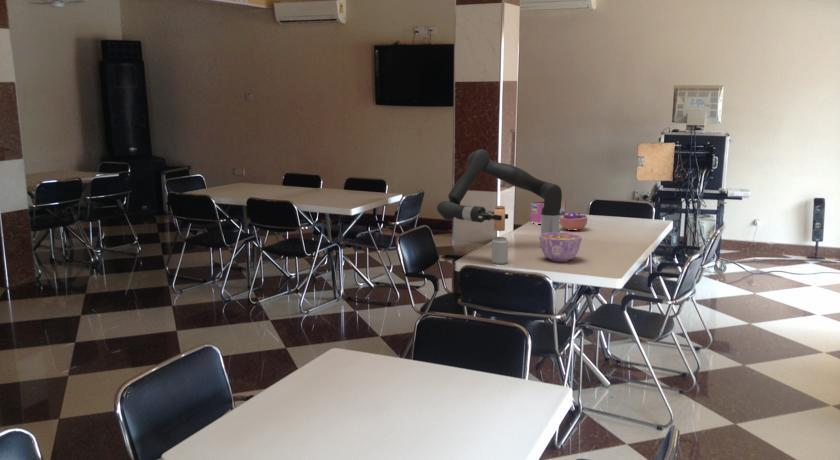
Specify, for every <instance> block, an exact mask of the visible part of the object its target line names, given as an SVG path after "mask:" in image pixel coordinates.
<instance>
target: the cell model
mask: <svg viewBox="0 0 840 460" xmlns="http://www.w3.org/2000/svg"><path fill="white" fill-rule="evenodd" d="M559 219H560V221H559V226H560V227H562V228H563V229H564V228H565V230H567V229H569V230H574V229H580V230H582V229H583V228H585V227H586V226H587V224H588V216H587V215H586V214H581V213H580V212H578V213H575V212H574V211H573V212H572V211H570V212H568V213H567V214H566V215H560V216H559ZM569 230H568V231H569Z"/></svg>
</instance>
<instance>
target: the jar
mask: <svg viewBox="0 0 840 460" xmlns="http://www.w3.org/2000/svg"><path fill="white" fill-rule="evenodd" d="M505 207H506V206H504V205H495V206H494V209H493V211H494V215H501V216H502V220H493V231H496V232H504V231H505V230H506V228H505V227H506V219H505V214H506V208H505Z"/></svg>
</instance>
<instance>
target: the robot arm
mask: <svg viewBox="0 0 840 460" xmlns="http://www.w3.org/2000/svg"><path fill="white" fill-rule="evenodd" d="M490 157H491V156H490V154H489V152H488V151H487V150H485V149H482V148H480V149H477V150H474V151H473V152H471V153H469V155H468V157H467V164H468V166H467V169H466V170H465V171H464V173H463V174H462V175H461V176H460V177H459V178H458V180H457V181H456V182H455V183H454V185H453V187H452V188H451V190H450V192H449V193H448V195H447V197H448V200H449V201H448V200H443V201H441V202H439V203H438V204H437V206H436V210H437V213H438V214H440V215H439V216H441V217H442V218H443V219H444V220H445V221H452V220H453V219H454V218H455V219H457V220H461V221H467V222H473V223H480V224H481V223H484V222H485V221H494V220H502V216H501V215H494V210H492V211H491V210H487V209H486V208H485V207H484V206H479V205H478V206H477V205H464V204H463V205H462V204H461V201H462V200H463V199H464V198H465V195H466V194H467V192H469V189H470V188H471V186H472V184H473V183H474V181H475V180H476V178H477V177H478V176H479V175H480V173H481V172H482V173H484V174H488V175H490V176H492V177H495V178H497V179H498V180H501V181H502V182H505V183H507V184H509V185H511V186H514V187H515V188H519V189H522V190H525V191H528V192H531V193H533V194H535V196H537V197H540V198H542V199H543V202H544V207H543V209H542V211H541V225H540V234H543V233H561V229H560V223H559V214H560V210H561V202H563V201H562V200H563V193H562V188H561V187H560V185H558V184H555V183H552V182H547V181H543V180H541V179H538V178H536V177H534V176H533V175H532V174H531V173H529V172H527V171H525V170H523V169H522V168H519V167H518V166H515V165H512V164H508V163H503V162H499V161H495V160H492V159H491V158H490ZM507 219H509V213H505V220H507Z"/></svg>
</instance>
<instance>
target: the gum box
mask: <svg viewBox="0 0 840 460" xmlns="http://www.w3.org/2000/svg"><path fill="white" fill-rule="evenodd" d="M566 205H567V204H566V201H562V202H561V210H560V214H559V216H560V215H567V214H566V213H567V212H566V207H567V206H566ZM543 207H544V201H536V202H535V201H534V202H530V218H529V219H530V220H529V221H530V222H532V221H533V222H538V223H540V222H541V211H542V209H543ZM559 220H560V219H559ZM530 222H529V223H530Z"/></svg>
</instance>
